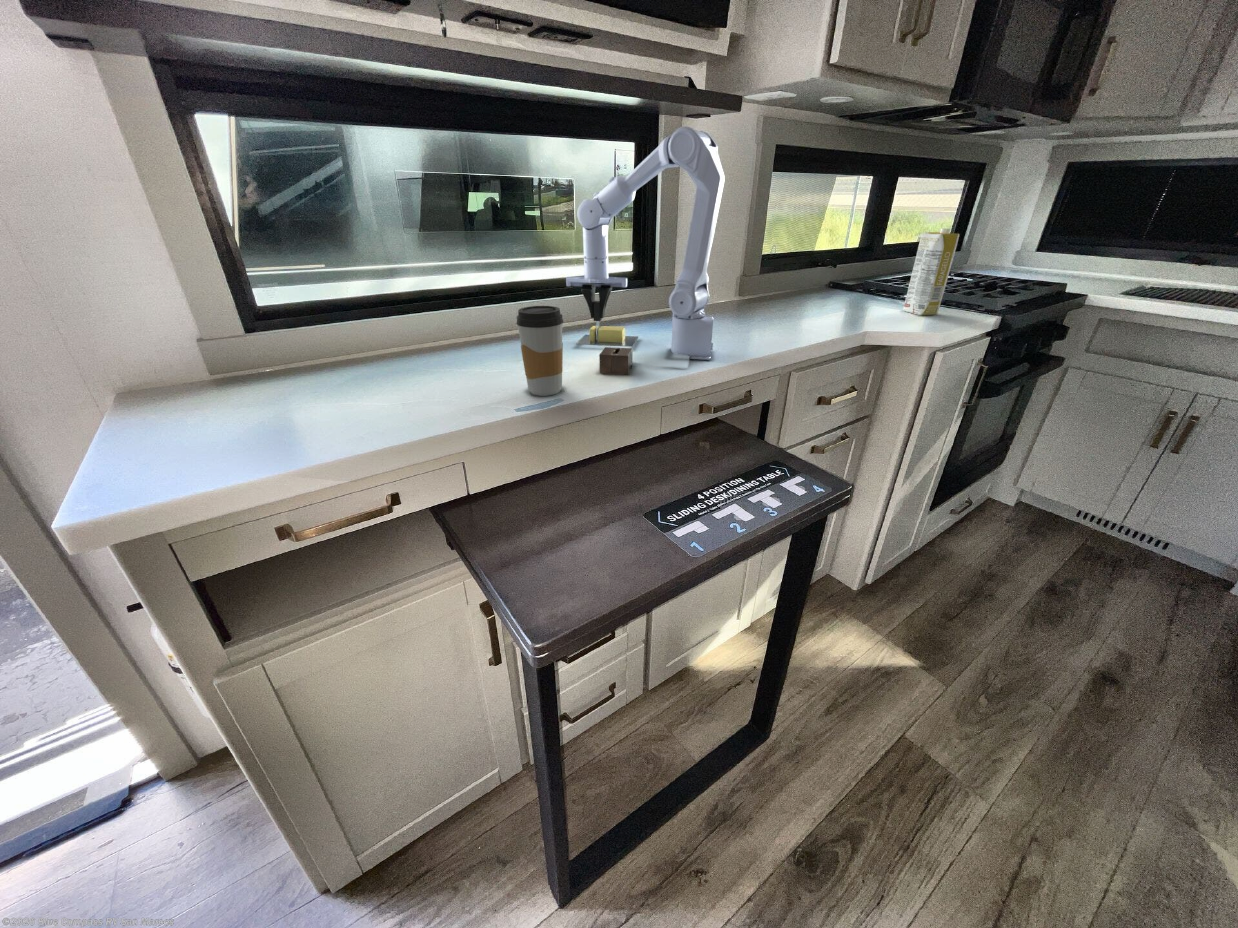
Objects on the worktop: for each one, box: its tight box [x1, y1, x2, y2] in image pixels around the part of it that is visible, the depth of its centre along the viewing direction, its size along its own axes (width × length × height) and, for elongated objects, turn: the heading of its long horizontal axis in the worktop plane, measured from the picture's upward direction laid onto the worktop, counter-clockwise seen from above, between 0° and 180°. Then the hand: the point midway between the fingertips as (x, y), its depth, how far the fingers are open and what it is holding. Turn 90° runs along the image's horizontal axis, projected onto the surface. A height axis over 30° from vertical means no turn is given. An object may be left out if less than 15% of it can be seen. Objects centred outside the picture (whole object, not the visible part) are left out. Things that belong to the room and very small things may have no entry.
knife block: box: [598, 346, 634, 376], centre depth 107 cm, size 6×6×4 cm
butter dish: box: [576, 334, 639, 348], centre depth 127 cm, size 14×10×1 cm
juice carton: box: [902, 227, 960, 316], centre depth 153 cm, size 9×8×24 cm
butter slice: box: [588, 325, 596, 342], centre depth 126 cm, size 1×4×3 cm, turn 170°
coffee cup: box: [516, 305, 564, 397], centre depth 93 cm, size 8×8×15 cm
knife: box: [593, 300, 603, 340], centre depth 124 cm, size 2×3×9 cm, turn 170°
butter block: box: [598, 325, 626, 343], centre depth 125 cm, size 6×4×3 cm, turn 80°
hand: (597, 317), depth 124 cm, fingers closed on knife, 1 cm apart
